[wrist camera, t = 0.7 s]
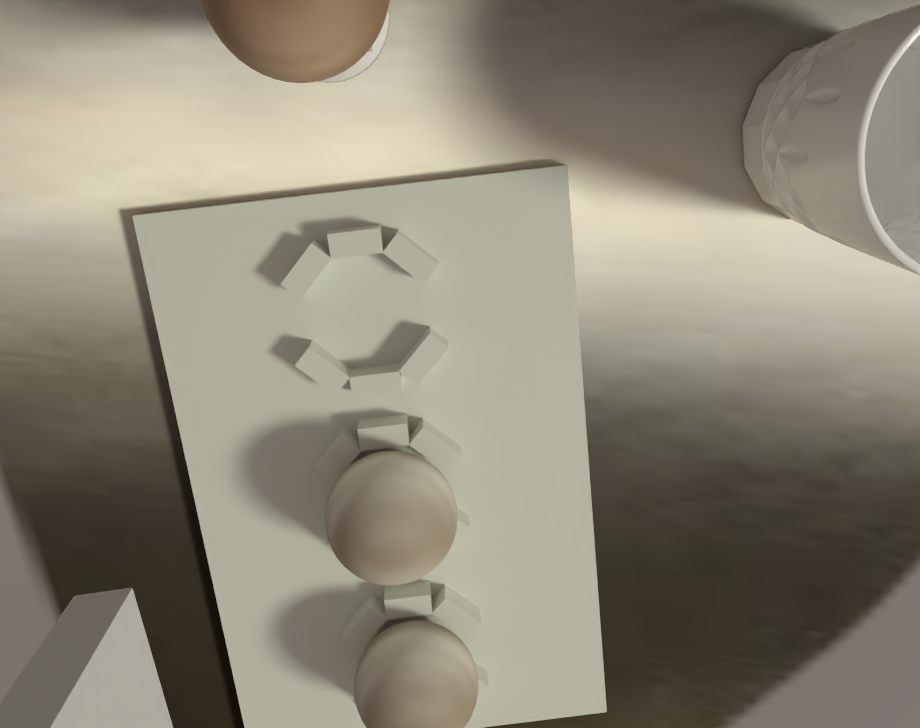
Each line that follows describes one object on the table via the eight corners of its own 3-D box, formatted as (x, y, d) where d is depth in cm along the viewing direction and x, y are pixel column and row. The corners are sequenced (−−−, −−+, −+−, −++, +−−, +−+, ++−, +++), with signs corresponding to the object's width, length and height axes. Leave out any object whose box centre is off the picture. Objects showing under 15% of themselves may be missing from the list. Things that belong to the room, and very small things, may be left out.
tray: (137, 214, 31) (121, 219, 30) (564, 164, 32) (572, 167, 30) (253, 746, 38) (245, 774, 36) (603, 702, 38) (612, 728, 37)
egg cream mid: (322, 439, 33) (306, 493, 29) (447, 424, 34) (452, 475, 29) (341, 551, 35) (329, 620, 30) (461, 536, 35) (468, 603, 30)
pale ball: (350, 603, 36) (339, 679, 31) (468, 589, 36) (475, 662, 31) (367, 703, 37) (359, 790, 32) (480, 689, 37) (488, 774, 32)
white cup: (929, 222, 33) (1140, 265, 23) (729, 252, 33) (858, 308, 23) (933, 6, 31) (1168, -45, 21) (718, 38, 31) (855, 1, 21)
